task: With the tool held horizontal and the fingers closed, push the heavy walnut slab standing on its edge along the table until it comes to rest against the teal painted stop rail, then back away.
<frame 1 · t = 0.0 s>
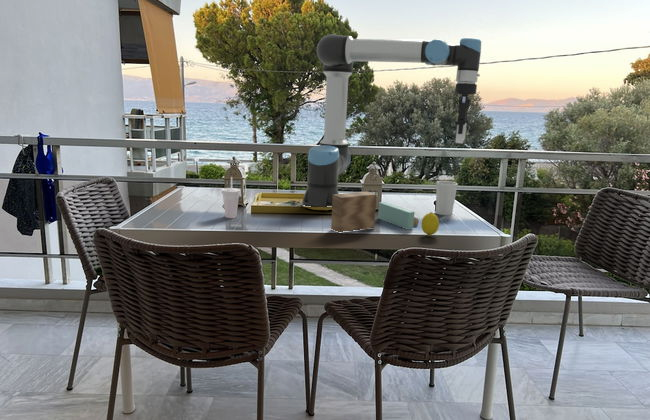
hand: (460, 141, 186), 28 cm above the table, tool pointing down, fingers open, 13 cm apart
stop rail: (394, 223, 175), on the table
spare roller: (405, 222, 177), on the table
smoothie: (230, 217, 174), on the table
lemon: (428, 236, 161), on the table
slab: (352, 229, 165), on the table
cup: (443, 213, 193), on the table
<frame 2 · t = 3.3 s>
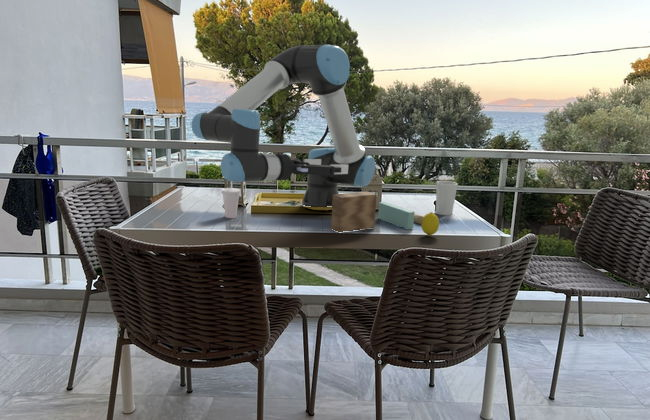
hand: (333, 166, 154), 22 cm above the table, tool horizontal, fingers open, 13 cm apart
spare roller: (412, 214, 178), point 3 cm above the table, tilted 154°
everything else where it was.
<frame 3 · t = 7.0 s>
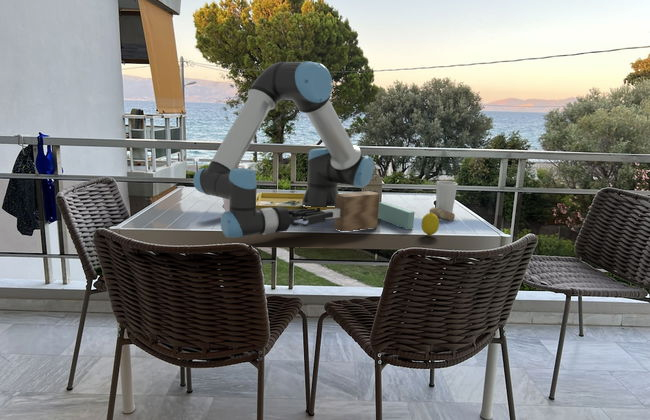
hand: (338, 212, 160), 6 cm above the table, tool horizontal, fingers closed
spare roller: (440, 217, 187), on the table, tilted 21°
slab: (355, 229, 166), on the table, touching gripper
everything else where it was.
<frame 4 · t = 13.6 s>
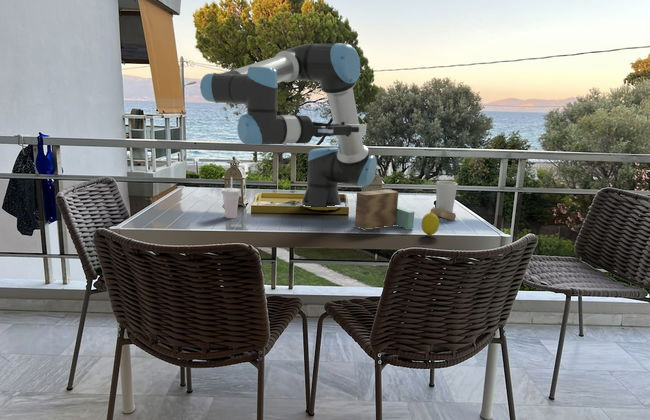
hand: (364, 129, 146), 34 cm above the table, tool horizontal, fingers closed
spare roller: (440, 216, 186), on the table, tilted 45°
slab: (375, 226, 170), on the table
everything else where it was.
at the end: slab inside the target area (0.6 cm from its centre), on the table; slab moved 9.7 cm from its start; slab tilted 0° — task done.
